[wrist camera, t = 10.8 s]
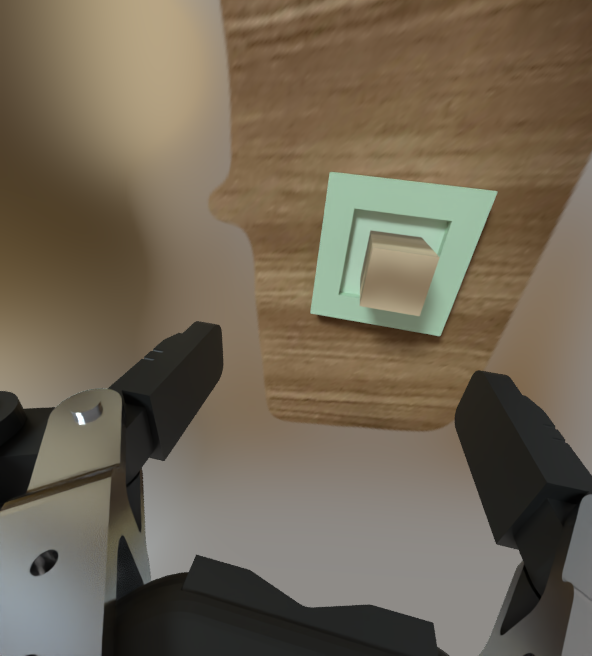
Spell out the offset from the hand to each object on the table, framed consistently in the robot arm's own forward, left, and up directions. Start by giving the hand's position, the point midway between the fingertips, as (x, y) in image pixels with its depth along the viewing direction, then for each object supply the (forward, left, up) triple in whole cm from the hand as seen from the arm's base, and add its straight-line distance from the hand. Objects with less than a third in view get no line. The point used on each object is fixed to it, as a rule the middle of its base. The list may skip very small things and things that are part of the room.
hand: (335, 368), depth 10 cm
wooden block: (+1, +4, -21) cm, 21 cm away
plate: (+1, +4, -22) cm, 22 cm away
